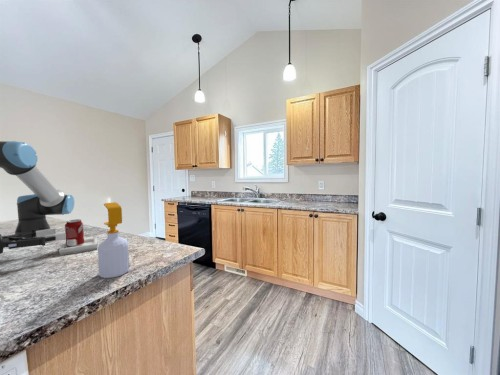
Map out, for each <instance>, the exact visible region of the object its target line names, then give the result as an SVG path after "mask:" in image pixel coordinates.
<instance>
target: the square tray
mask: <svg viewBox="0 0 500 375" xmlns="http://www.w3.org/2000/svg"><path fill="white" fill-rule="evenodd" d="M97 243H99V242H98V236H97V237H91V238H84V244H82V245H81V246H76V247H67V246H66V241H63V242H62V244H61V245H60V247H59V248H58V251H59V252H58V253H59V256H64V255H72V254H76V253H84V252H89V251H98V244H97Z"/></svg>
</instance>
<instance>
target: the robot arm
mask: <svg viewBox="0 0 500 375" xmlns="http://www.w3.org/2000/svg"><path fill="white" fill-rule="evenodd" d="M37 162H38V155H37V151H36V150H35V149H34V147H33V146H32V145H30V144H29V143H27V142H23V141H16V140H11V141H5V140H4V141H3V140H2V141H0V169H3V171H5V172H6V174H9V175H11V176H16V177H17V178H18V179H19V180H20V181H21V182H22V183H23V184H24V185H25V186H26V187H27V188H28V189H29V190H30V191H31V192H32V193H33V194H24V195H19V196H18V197H17V199H16V206H17V208H16V209H17V218H18V219H17V220H18V222H17V225H16V228H15V231H14V234H12V235H7V236H5V235H4V236H2V234H1V233H0V255H1V254H2V255H3V252H4V249H5V248H8V250H12V249H13V250H14V249H19V248H28V247H29V248H30V247H35V246H43V247H44V246H45V245H46V244H47V243H52V242H57V241H63V240H66V236H65V232H60V233H56V232H57V231H56V228H55V227H54V228H51V226H50V224H49V222H48V220H47V216H55V215H57V216H58V215H60V216H61V215H69V214H71V213H72V212H73V210H74V208H75V198H74V196H73V195H71V194H65V193H64V192H63V191H62V190H60V189H57V188H56V187H55V186H54V185H53V184H52V182H50V180H48V178H47V177H46V176H45V175H44V174H43V172H41V170H40V169H39V168H38V167H37Z"/></svg>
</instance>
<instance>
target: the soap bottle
mask: <svg viewBox="0 0 500 375" xmlns="http://www.w3.org/2000/svg"><path fill="white" fill-rule="evenodd" d="M103 205H104V207H105V208H106V209H107V213H108V214H107V216H108V217H107V219H108V221H107V222H104V223H103V224H104V225H106V226H107V227H108V228H109V230H108V231H107V232H106V233H107V235H106V236H107V237H106V239H104V240H102V241H101V242H100V243H99V244H98V246H97V257H98V275H99V277H100V278H103V279H112V278H116V277H117V278H118V277H120V276H123V275H125V274H127V273H129V271H130V256H129V255H130V254H129V253H130V252H129V251H130V250H129V242H128V240H127V239H125V238H123V237H122V236H121V237H120V236H119V229H116V228H117V227H118V224H119V225H120V224H122V223H123V212H122V211H123V210H122V209H123V208H122V206H121V205H120V204H119V203H118V202H116V201H115V202H107V203H106V202H105V203H103Z"/></svg>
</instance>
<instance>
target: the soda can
mask: <svg viewBox="0 0 500 375" xmlns="http://www.w3.org/2000/svg"><path fill="white" fill-rule="evenodd" d="M64 233H65V242H66V246H67V247H76V246H81V245H82V244H84V239H85V235H84V222H82V219H80V218H79V219H69V220H67V221H66V222H65V224H64Z"/></svg>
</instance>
